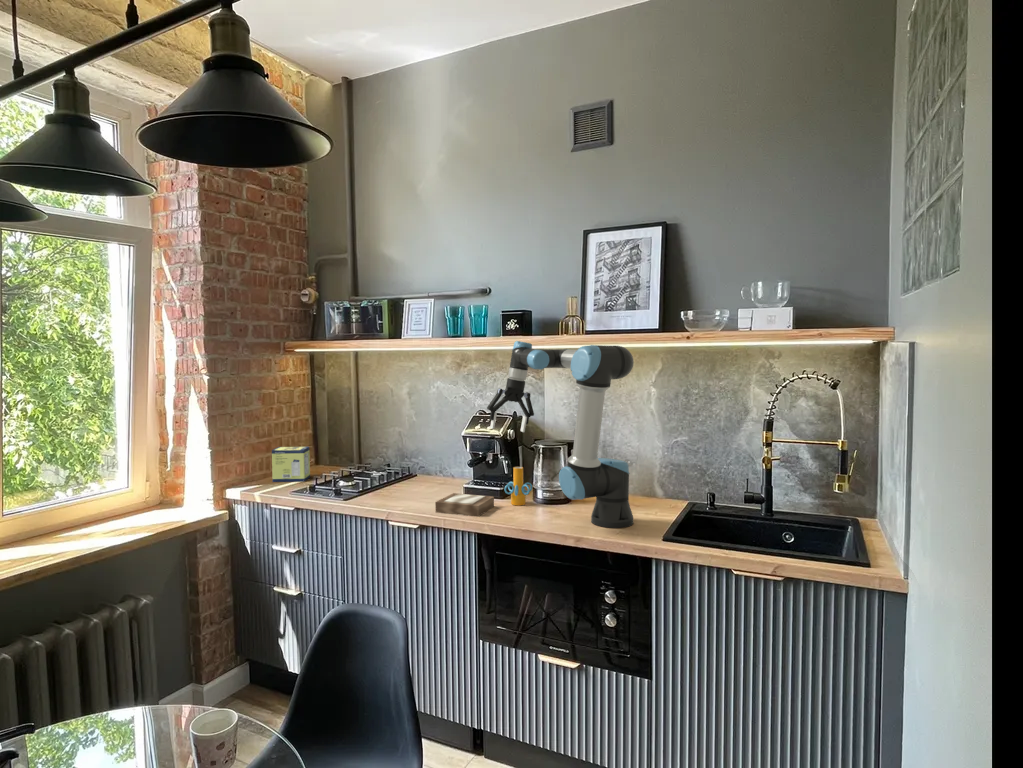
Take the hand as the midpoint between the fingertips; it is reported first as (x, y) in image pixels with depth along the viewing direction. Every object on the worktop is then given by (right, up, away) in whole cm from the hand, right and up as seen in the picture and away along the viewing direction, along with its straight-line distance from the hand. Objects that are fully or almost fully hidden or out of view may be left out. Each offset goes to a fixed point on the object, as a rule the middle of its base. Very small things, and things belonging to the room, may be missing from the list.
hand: (507, 430), depth 250 cm
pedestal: (-17, -31, -10) cm, 36 cm away
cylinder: (+4, -30, -1) cm, 31 cm away
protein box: (-106, -28, +47) cm, 119 cm away
